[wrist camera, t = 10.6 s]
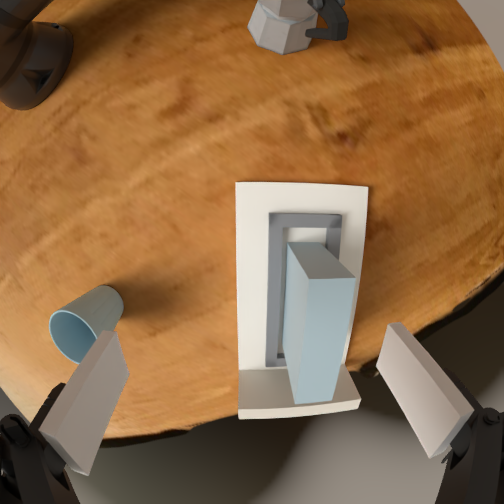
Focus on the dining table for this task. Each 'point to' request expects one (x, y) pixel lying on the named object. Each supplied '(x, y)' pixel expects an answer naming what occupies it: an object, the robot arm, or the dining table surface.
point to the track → (273, 284)
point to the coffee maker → (296, 23)
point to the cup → (85, 321)
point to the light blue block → (315, 319)
